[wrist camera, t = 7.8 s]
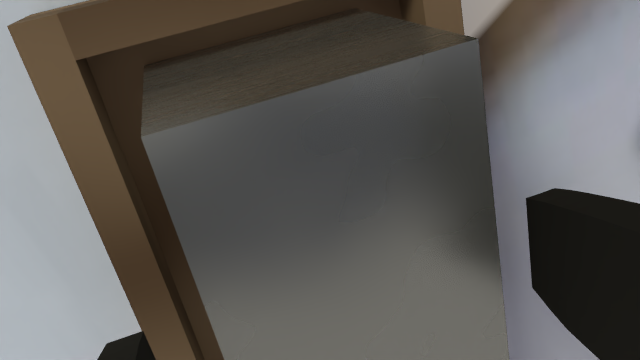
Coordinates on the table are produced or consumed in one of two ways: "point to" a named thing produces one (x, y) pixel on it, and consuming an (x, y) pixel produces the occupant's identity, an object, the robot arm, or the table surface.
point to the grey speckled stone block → (333, 190)
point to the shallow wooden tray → (125, 127)
